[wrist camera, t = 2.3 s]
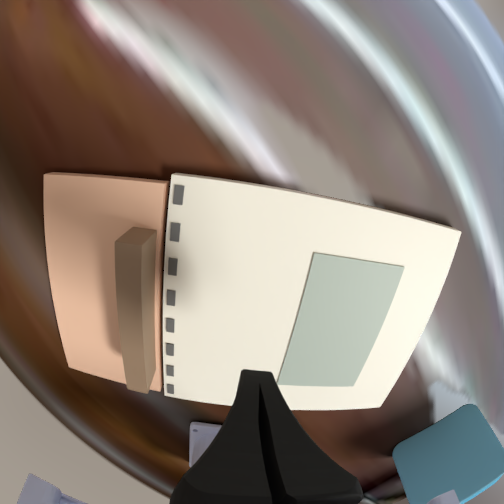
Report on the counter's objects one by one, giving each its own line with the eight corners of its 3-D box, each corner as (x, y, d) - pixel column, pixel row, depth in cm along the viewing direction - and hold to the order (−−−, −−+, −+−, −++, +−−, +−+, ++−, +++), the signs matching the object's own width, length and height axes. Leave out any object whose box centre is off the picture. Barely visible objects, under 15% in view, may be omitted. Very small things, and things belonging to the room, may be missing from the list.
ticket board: (376, 399, 22) (380, 407, 21) (167, 386, 20) (164, 396, 19) (452, 227, 16) (462, 232, 15) (176, 172, 15) (171, 174, 14)
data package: (392, 458, 27) (417, 528, 16) (388, 446, 26) (416, 525, 15) (469, 414, 26) (505, 475, 14) (472, 398, 24) (513, 465, 13)
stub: (162, 382, 20) (153, 416, 17) (73, 359, 20) (56, 387, 16) (169, 181, 15) (149, 191, 12) (52, 172, 14) (18, 181, 11)
